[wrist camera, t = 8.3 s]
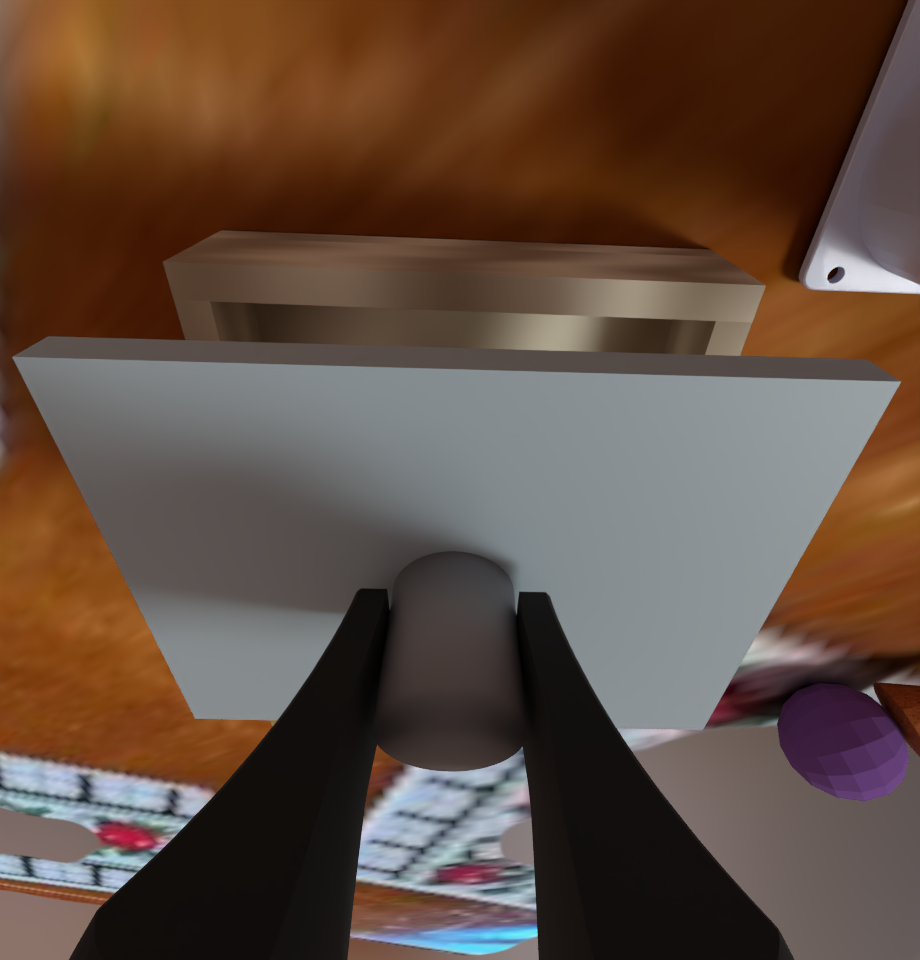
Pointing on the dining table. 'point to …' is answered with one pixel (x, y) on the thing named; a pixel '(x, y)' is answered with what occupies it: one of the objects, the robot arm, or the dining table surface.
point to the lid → (453, 514)
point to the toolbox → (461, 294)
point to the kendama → (851, 737)
